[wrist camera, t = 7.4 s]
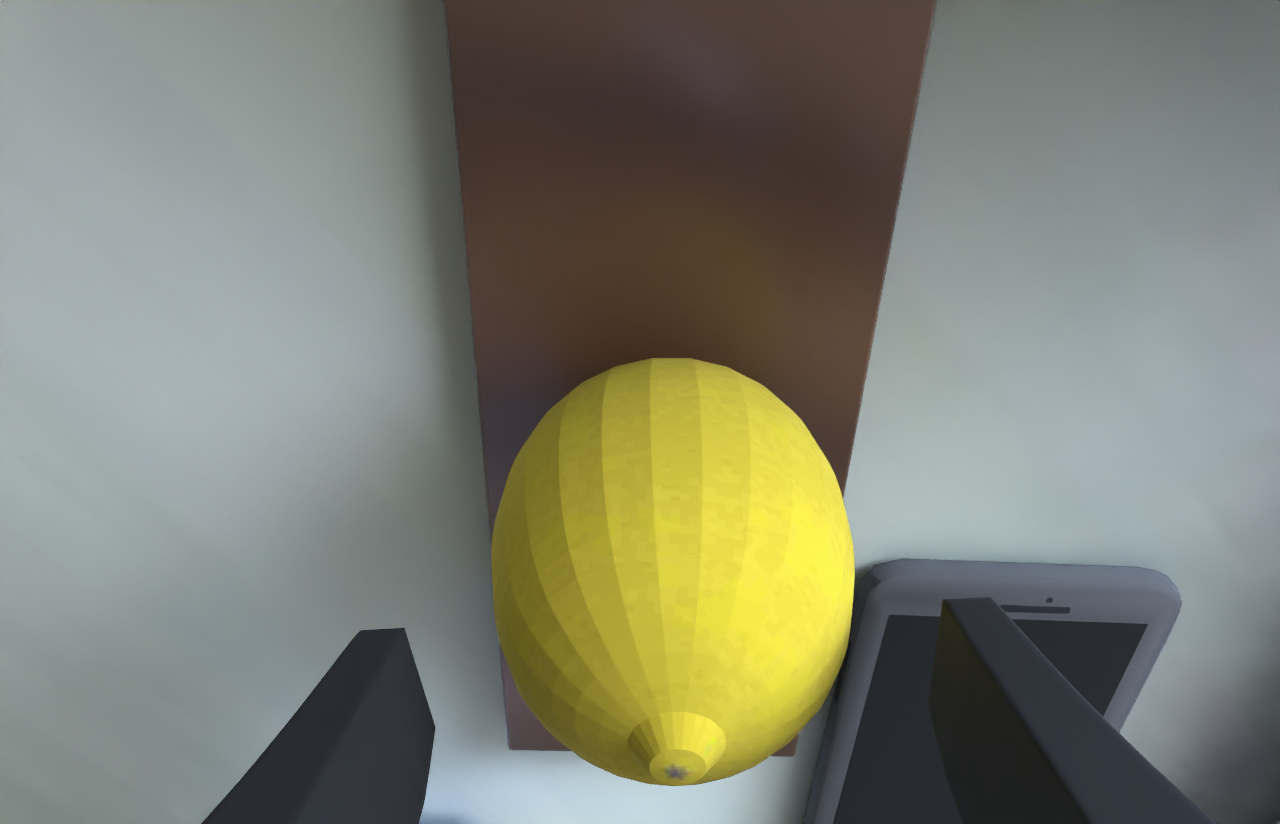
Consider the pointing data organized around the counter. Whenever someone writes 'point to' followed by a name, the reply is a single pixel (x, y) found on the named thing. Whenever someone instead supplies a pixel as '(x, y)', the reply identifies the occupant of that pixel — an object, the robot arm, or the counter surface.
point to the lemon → (672, 572)
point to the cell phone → (904, 657)
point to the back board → (677, 203)
